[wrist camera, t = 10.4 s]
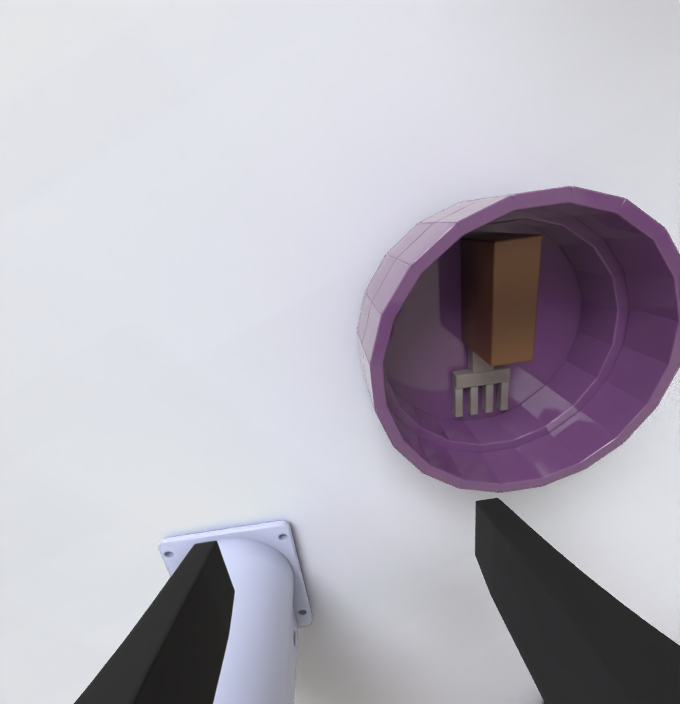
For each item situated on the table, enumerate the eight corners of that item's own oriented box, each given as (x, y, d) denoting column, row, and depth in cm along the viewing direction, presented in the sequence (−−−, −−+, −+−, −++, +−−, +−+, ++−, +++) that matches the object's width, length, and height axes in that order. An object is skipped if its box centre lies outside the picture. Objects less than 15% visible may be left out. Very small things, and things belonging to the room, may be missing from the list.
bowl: (575, 411, 20) (656, 469, 15) (369, 442, 20) (385, 510, 15) (606, 181, 15) (731, 162, 11) (342, 218, 15) (352, 216, 11)
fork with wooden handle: (449, 239, 15) (480, 243, 12) (510, 230, 15) (557, 232, 12) (452, 413, 19) (478, 449, 16) (503, 405, 19) (538, 440, 16)
